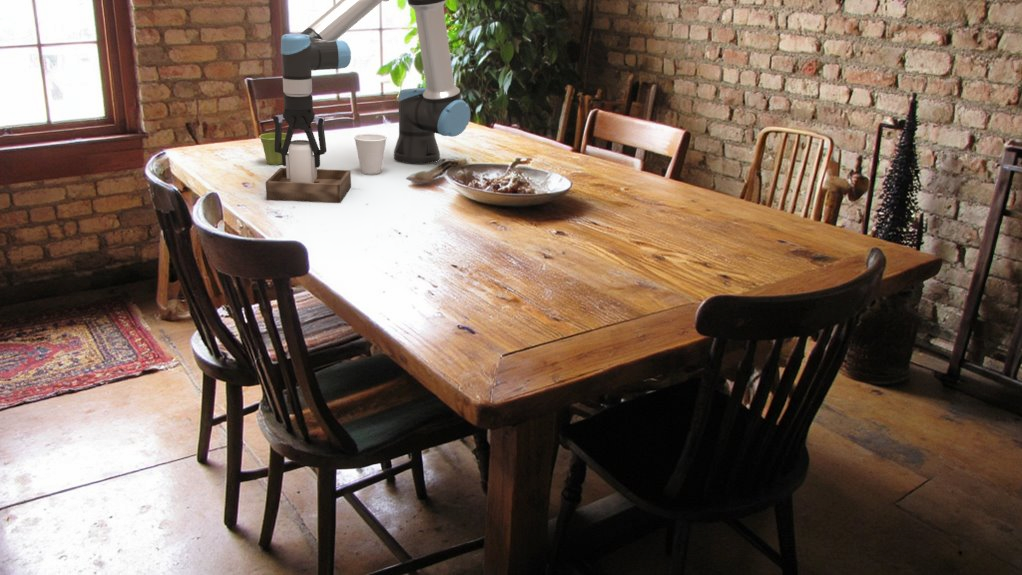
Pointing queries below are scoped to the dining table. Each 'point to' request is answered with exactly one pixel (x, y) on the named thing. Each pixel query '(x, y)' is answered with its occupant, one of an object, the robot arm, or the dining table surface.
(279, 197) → the walled box
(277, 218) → the dining table surface
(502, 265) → the dining table surface
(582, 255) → the dining table surface
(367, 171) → the cup
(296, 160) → the can
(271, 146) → the plant pot
